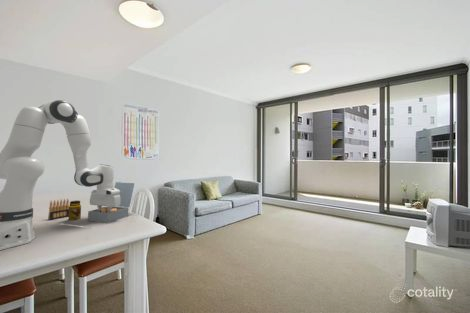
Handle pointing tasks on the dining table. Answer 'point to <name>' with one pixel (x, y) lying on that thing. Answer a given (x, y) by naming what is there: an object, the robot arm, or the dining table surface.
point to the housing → (107, 215)
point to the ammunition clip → (58, 210)
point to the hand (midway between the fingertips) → (104, 213)
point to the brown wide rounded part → (104, 209)
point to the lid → (125, 193)
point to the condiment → (74, 210)
